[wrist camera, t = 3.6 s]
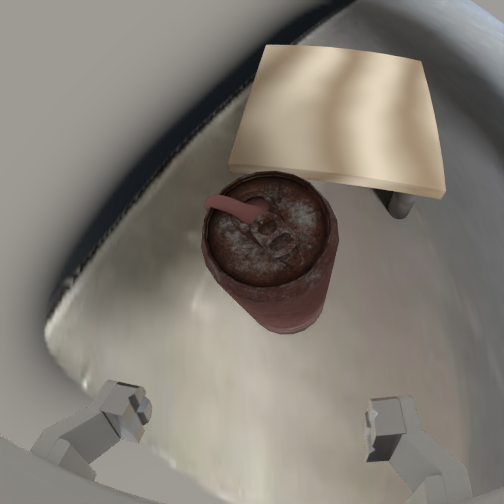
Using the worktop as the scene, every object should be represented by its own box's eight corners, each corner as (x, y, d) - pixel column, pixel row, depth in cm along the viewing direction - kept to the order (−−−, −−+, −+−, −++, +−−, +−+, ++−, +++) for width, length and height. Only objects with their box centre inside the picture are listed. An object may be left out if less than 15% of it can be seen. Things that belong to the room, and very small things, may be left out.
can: (261, 253, 28) (220, 152, 15) (333, 273, 26) (353, 180, 13) (236, 320, 26) (166, 268, 13) (311, 344, 24) (316, 316, 12)
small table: (408, 108, 31) (420, 61, 24) (418, 232, 26) (445, 191, 19) (274, 92, 35) (266, 44, 28) (245, 209, 30) (227, 163, 23)
